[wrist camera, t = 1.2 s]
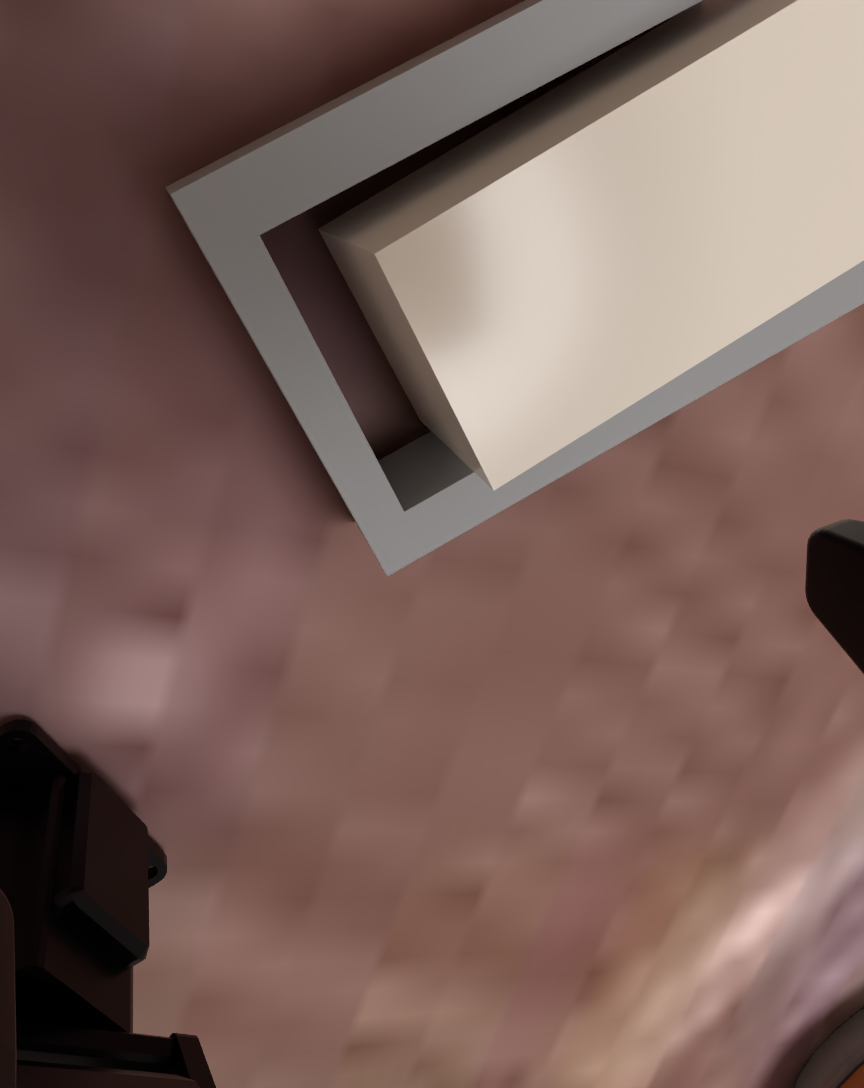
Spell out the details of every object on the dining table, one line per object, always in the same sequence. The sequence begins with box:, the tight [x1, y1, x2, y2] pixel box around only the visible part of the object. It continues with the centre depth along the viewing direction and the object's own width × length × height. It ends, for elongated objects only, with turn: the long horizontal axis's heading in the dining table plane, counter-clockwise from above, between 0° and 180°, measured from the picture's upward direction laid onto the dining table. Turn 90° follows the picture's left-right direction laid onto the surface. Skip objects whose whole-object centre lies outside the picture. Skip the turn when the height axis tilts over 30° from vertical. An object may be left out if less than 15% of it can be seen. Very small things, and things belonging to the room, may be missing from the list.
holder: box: [165, 0, 864, 576], centre depth 17 cm, size 13×9×3 cm, turn 114°
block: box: [318, 0, 864, 491], centre depth 17 cm, size 10×5×5 cm, turn 117°
